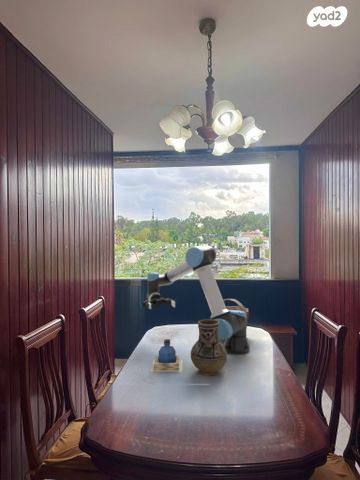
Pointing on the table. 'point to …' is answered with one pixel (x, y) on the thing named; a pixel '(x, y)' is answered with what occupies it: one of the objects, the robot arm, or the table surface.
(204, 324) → the decorative pitcher
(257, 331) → the table surface
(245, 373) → the table surface
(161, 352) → the perfume bottle
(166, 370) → the felt mat
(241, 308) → the bucket
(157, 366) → the oak box
